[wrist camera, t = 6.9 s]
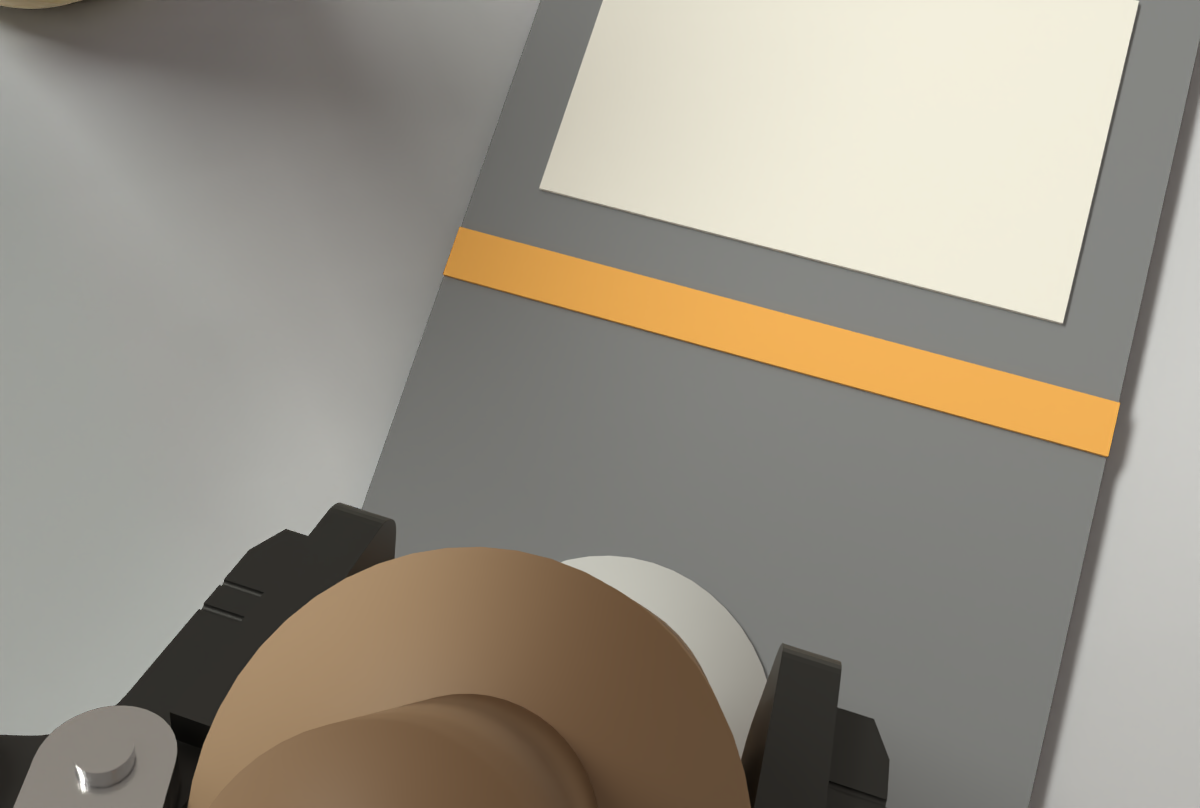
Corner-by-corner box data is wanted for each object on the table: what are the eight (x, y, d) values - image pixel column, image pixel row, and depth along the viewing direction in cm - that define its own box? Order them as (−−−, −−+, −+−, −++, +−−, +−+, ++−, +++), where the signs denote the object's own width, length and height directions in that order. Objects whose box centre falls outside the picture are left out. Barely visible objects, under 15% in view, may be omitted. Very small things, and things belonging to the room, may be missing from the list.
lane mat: (235, 885, 23) (225, 890, 22) (588, -122, 27) (586, -136, 27) (944, 1150, 21) (950, 1163, 20) (1201, 8, 25) (1210, -4, 25)
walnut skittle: (384, 838, 18) (-177, 1219, 6) (479, 551, 19) (143, 417, 7) (671, 942, 17) (642, 1582, 6) (755, 638, 18) (882, 647, 6)
